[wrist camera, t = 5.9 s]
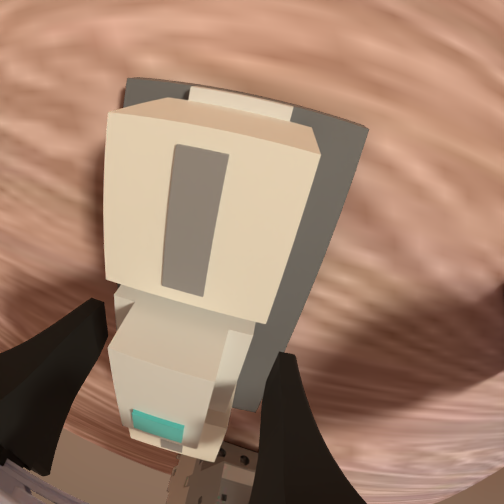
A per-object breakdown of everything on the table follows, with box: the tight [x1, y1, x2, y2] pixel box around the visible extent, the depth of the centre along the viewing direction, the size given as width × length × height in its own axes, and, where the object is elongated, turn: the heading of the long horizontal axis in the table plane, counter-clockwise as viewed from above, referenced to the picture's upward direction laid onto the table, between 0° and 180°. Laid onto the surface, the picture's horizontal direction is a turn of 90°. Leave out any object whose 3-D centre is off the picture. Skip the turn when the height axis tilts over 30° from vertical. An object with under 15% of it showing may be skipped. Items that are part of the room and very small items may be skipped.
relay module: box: [108, 284, 255, 449], centre depth 12 cm, size 5×4×6 cm
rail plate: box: [103, 77, 369, 462], centre depth 13 cm, size 18×9×6 cm, turn 168°
